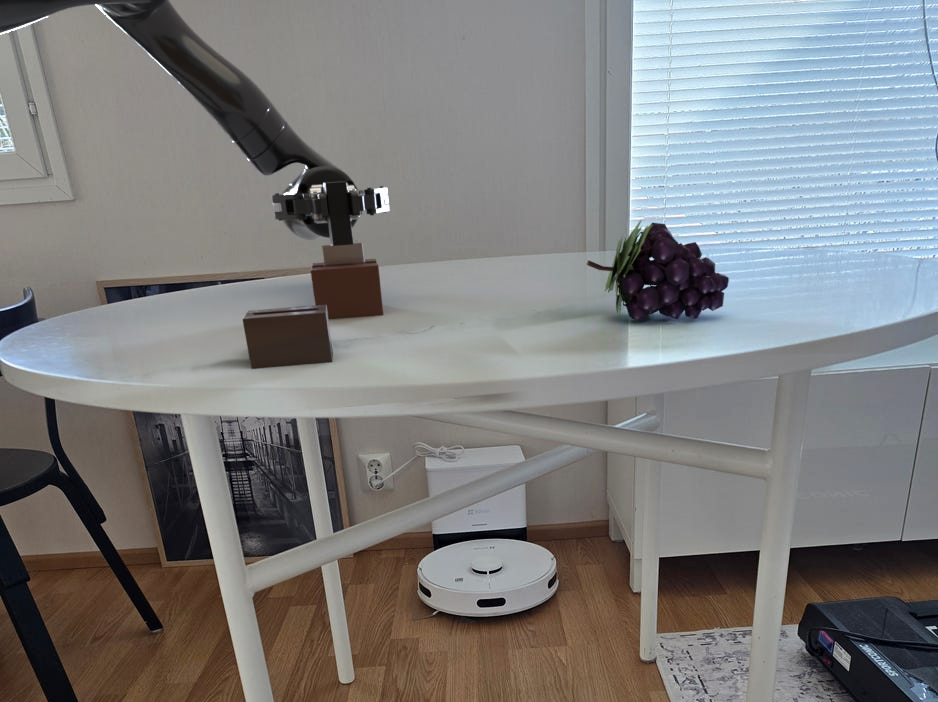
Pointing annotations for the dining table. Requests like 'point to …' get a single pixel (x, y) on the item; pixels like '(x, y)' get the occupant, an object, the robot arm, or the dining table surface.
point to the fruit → (663, 276)
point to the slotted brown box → (348, 289)
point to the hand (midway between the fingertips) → (340, 205)
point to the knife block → (288, 336)
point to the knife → (340, 228)
